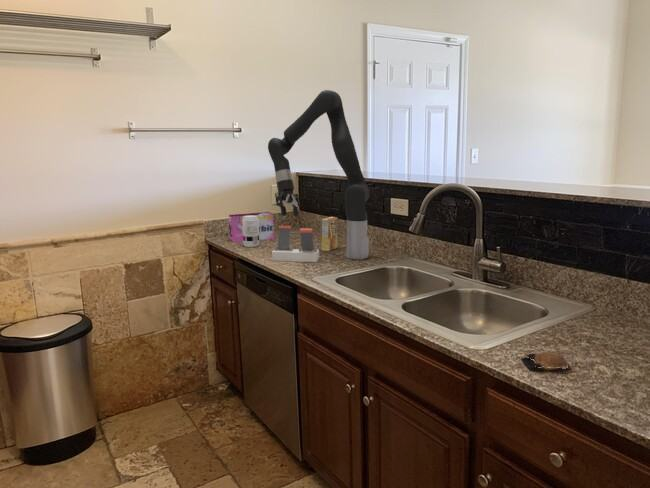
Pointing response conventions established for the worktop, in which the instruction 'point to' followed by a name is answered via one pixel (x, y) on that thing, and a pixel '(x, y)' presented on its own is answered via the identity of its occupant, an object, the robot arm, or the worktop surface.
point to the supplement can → (250, 230)
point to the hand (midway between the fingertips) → (290, 215)
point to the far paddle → (284, 237)
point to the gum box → (264, 226)
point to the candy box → (329, 233)
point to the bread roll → (546, 363)
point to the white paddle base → (295, 255)
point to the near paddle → (307, 239)
